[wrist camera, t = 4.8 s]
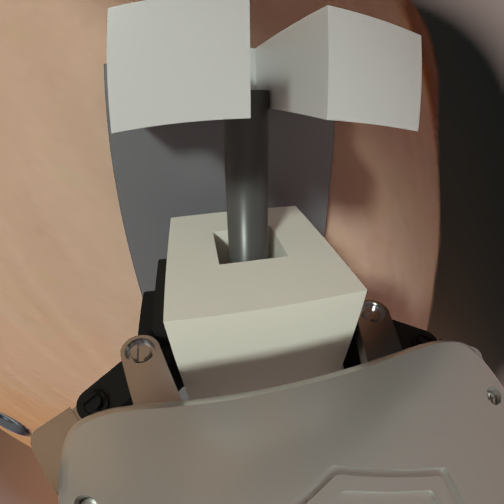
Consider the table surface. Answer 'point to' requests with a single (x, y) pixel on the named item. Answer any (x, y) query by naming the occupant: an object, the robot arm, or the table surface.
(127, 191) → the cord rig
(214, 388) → the notched cream block
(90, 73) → the table surface
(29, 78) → the table surface
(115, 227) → the table surface
